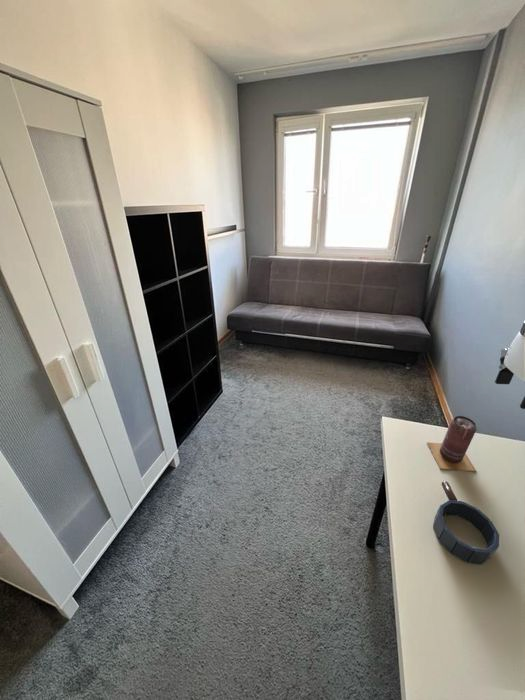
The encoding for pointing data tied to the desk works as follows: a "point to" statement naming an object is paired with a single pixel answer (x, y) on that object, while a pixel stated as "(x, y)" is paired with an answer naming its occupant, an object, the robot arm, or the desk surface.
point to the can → (457, 439)
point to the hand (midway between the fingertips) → (513, 395)
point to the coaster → (446, 465)
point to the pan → (475, 519)
